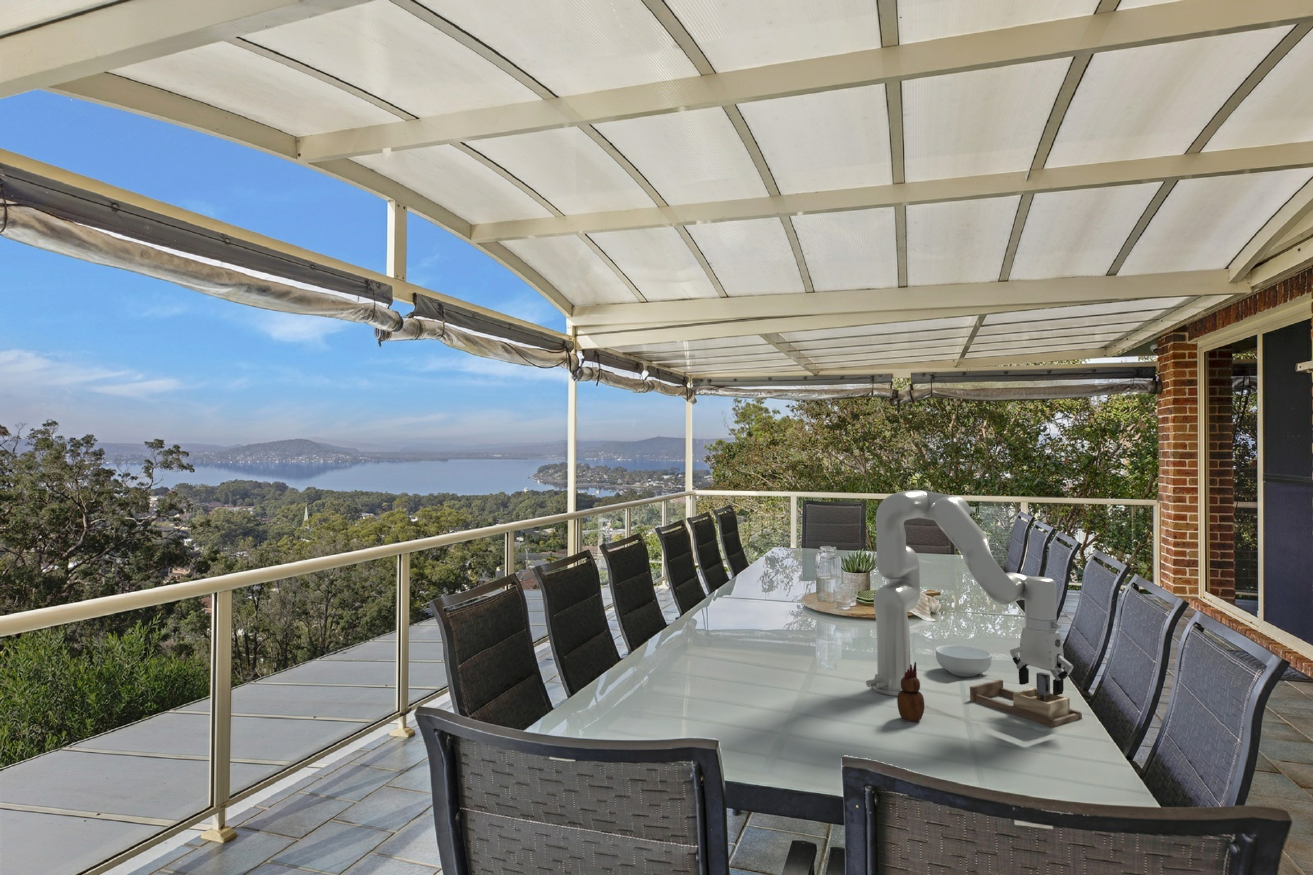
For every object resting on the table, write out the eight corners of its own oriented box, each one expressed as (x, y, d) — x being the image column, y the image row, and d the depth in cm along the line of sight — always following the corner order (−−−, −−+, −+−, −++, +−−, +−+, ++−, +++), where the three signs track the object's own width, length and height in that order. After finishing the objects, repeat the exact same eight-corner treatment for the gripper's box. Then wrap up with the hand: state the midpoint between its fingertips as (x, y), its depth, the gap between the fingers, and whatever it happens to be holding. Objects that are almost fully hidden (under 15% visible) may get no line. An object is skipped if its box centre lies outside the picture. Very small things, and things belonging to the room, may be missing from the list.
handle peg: (1045, 715, 193) (1045, 676, 193) (1034, 711, 195) (1033, 673, 196) (1053, 713, 194) (1052, 675, 194) (1041, 709, 197) (1041, 671, 197)
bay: (1051, 732, 186) (1050, 712, 186) (970, 704, 207) (969, 686, 207) (1082, 723, 192) (1081, 703, 192) (1000, 697, 213) (1000, 679, 213)
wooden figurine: (919, 715, 199) (918, 659, 199) (927, 723, 193) (926, 665, 193) (894, 716, 198) (893, 660, 199) (902, 723, 193) (901, 666, 193)
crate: (1048, 723, 189) (1048, 704, 189) (1013, 711, 197) (1013, 693, 198) (1069, 717, 193) (1069, 698, 193) (1034, 706, 202) (1034, 687, 202)
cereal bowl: (998, 682, 227) (997, 659, 227) (941, 680, 230) (940, 657, 230) (985, 667, 243) (984, 645, 244) (932, 664, 247) (931, 643, 247)
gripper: (1081, 629, 190) (1081, 696, 190) (1019, 616, 205) (1019, 678, 205) (1063, 633, 186) (1063, 701, 186) (1002, 619, 201) (1002, 682, 201)
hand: (1040, 689), depth 195 cm, fingers open, 9 cm apart
